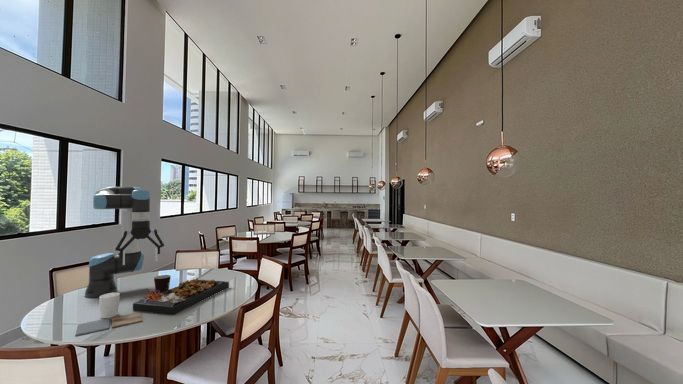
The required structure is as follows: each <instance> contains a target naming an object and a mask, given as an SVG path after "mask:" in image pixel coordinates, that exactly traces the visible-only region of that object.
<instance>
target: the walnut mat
mask: <svg viewBox="0 0 683 384" xmlns="http://www.w3.org/2000/svg"><path fill="white" fill-rule="evenodd" d="M142 322H143V318H142V314H141V312H139V311H136V312H134V313H133V312H132V313H127V314H124V315H118V316H117V315H116V316H114V317H111V329H114V328H120V327H125V326H128V325H129V326H130V325H133V324H139V323H142Z"/></svg>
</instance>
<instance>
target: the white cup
mask: <svg viewBox="0 0 683 384" xmlns="http://www.w3.org/2000/svg"><path fill="white" fill-rule="evenodd" d="M120 295H121V294H120V292H115V293H108V294H104V295H101V296H100V297H98V298H99V316H100V318H101V319H107V318H109V319H112V317H117V315H118V314H119V309H120V308H119V307H120V297H121V296H120ZM118 316H119V315H118Z"/></svg>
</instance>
